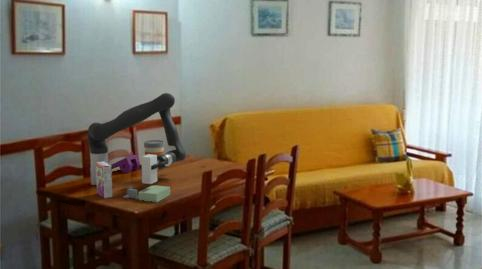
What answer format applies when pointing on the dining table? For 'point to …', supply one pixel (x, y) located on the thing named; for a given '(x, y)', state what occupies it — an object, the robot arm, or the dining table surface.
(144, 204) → the dining table surface
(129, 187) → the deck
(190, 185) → the dining table surface
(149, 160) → the tall white pillar block
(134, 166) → the mounting bracket
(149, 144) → the reusable coffee cup
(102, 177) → the candy bar box
